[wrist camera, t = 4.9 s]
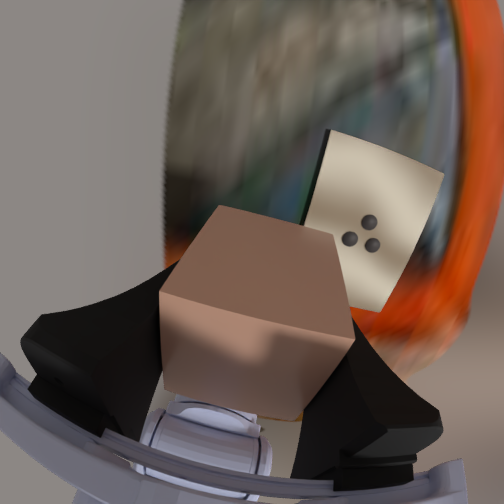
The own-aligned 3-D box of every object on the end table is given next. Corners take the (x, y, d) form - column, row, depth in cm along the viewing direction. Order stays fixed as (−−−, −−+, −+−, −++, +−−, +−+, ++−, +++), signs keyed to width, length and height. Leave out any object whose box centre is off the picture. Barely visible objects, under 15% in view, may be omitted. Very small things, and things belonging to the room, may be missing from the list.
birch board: (379, 310, 22) (380, 312, 22) (283, 288, 23) (283, 291, 22) (442, 173, 16) (444, 174, 15) (330, 129, 16) (331, 130, 16)
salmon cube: (298, 317, 14) (293, 420, 9) (205, 294, 14) (164, 389, 9) (332, 234, 11) (355, 339, 6) (219, 204, 12) (159, 291, 6)
